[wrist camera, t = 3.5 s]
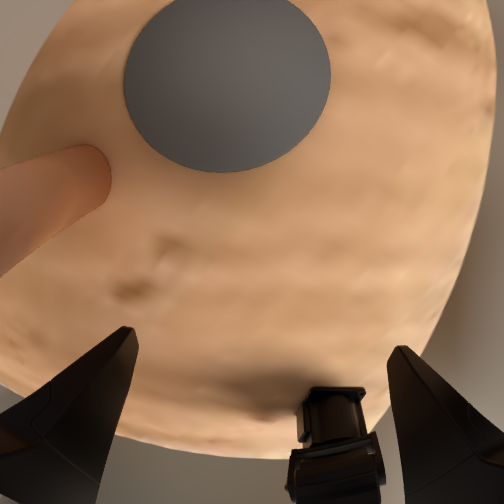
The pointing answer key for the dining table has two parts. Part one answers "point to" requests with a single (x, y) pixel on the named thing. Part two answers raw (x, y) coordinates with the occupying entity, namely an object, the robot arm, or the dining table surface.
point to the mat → (227, 82)
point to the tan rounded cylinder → (48, 198)
